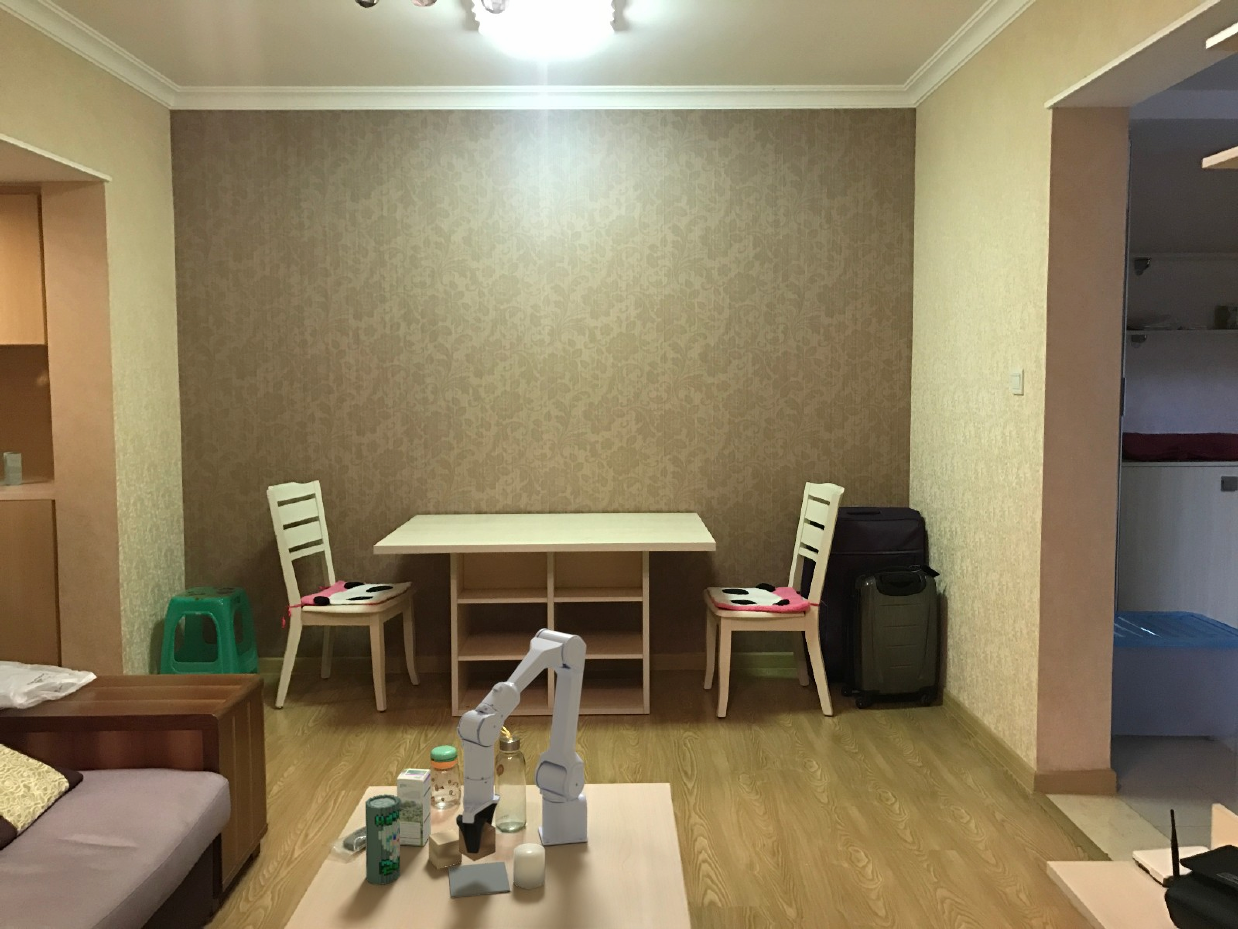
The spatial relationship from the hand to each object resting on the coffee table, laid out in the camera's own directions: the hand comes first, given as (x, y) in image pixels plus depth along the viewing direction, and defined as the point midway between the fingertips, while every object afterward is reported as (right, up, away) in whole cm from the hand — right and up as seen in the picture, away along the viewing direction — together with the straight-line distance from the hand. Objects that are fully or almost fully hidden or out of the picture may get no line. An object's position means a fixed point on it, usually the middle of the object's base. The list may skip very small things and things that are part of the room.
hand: (478, 843), depth 183 cm
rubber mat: (0, -7, +1) cm, 7 cm away
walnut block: (0, -2, 0) cm, 2 cm away
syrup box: (-16, -6, +16) cm, 24 cm away
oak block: (-8, -7, +8) cm, 13 cm away
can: (-19, -7, +2) cm, 20 cm away
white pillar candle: (+10, -8, +1) cm, 12 cm away
